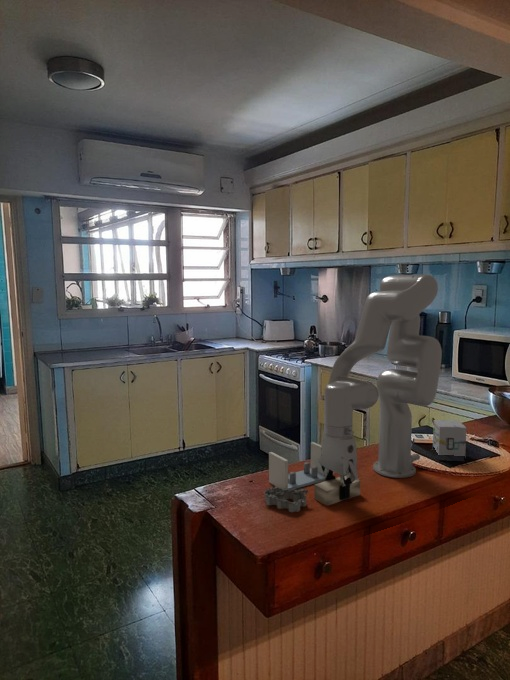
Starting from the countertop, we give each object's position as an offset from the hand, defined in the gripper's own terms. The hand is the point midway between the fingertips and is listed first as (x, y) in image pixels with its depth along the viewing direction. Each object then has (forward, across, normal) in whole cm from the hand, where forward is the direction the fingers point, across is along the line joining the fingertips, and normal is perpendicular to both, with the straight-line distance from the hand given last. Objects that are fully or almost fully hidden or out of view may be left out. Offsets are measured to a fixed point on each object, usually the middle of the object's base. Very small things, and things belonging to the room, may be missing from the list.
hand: (337, 494), depth 128 cm
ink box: (+1, +2, -51) cm, 51 cm away
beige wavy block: (+1, 0, 0) cm, 1 cm away
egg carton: (+1, +4, +14) cm, 15 cm away
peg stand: (+1, +14, +2) cm, 14 cm away
